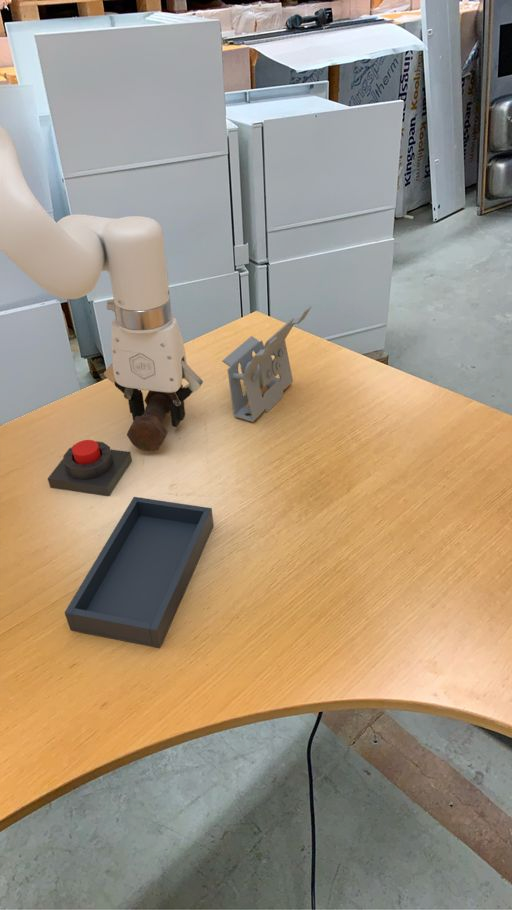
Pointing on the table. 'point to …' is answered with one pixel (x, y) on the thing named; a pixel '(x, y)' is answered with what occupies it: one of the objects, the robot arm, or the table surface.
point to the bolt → (151, 422)
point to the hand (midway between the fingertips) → (158, 418)
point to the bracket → (260, 372)
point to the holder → (141, 572)
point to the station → (91, 472)
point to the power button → (86, 452)
